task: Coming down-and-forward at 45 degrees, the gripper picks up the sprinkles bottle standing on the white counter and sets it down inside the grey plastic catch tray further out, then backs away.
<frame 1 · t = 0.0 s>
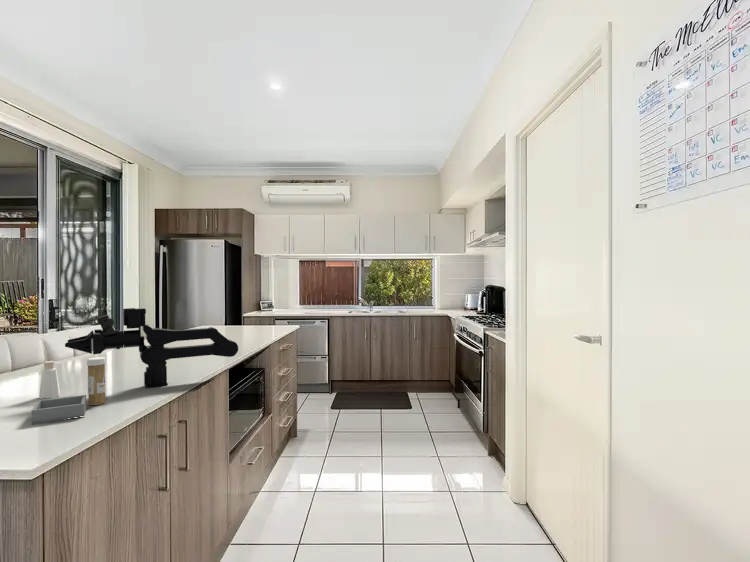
hand: (66, 343, 139), 17 cm above the countertop, tool horizontal, fingers open, 9 cm apart
pepper shaker: (49, 397, 139), on the countertop
catch tray: (60, 415, 118), on the countertop
sprinkles bottle: (97, 404, 129), on the countertop
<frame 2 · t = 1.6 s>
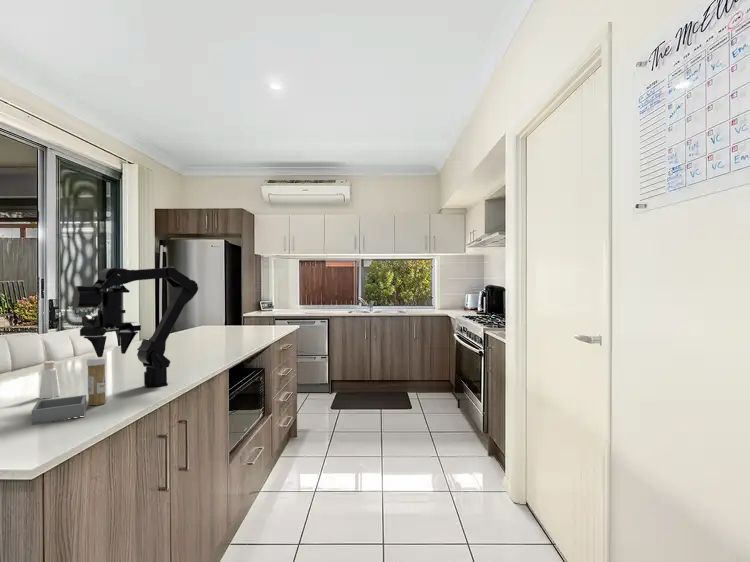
hand: (112, 355, 141), 12 cm above the countertop, tool pointing down, fingers open, 9 cm apart
nothing on the countertop moved.
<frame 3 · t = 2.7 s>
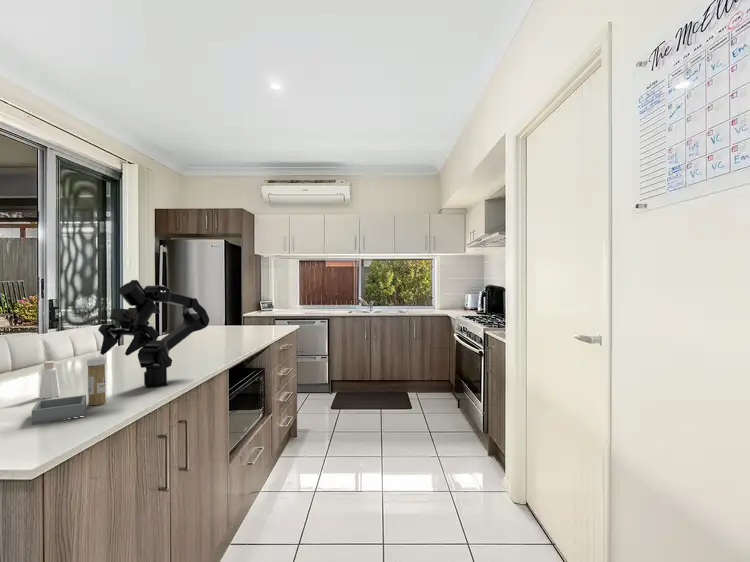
hand: (113, 354, 135), 13 cm above the countertop, tool tilted 45°, fingers open, 9 cm apart
nothing on the countertop moved.
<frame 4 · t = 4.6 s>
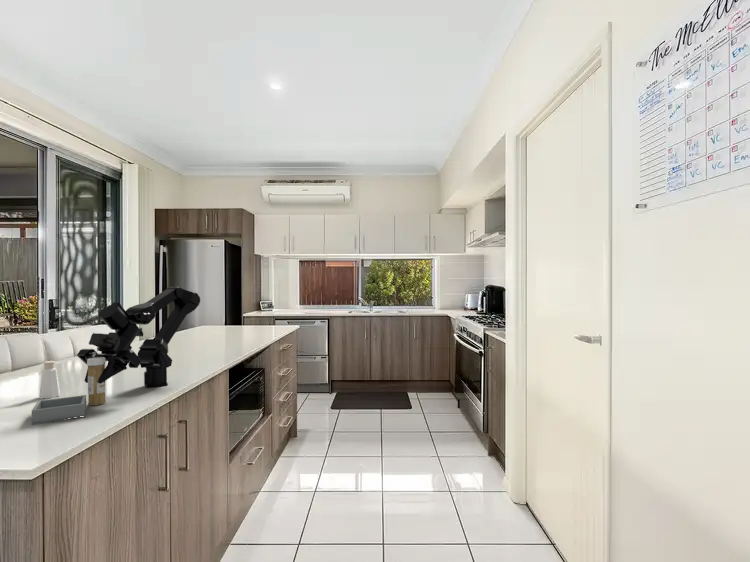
hand: (92, 382, 128), 7 cm above the countertop, tool tilted 45°, fingers closed on sprinkles bottle, 4 cm apart
sprinkles bottle: (96, 404, 129), on the countertop, touching gripper
everything else where it was.
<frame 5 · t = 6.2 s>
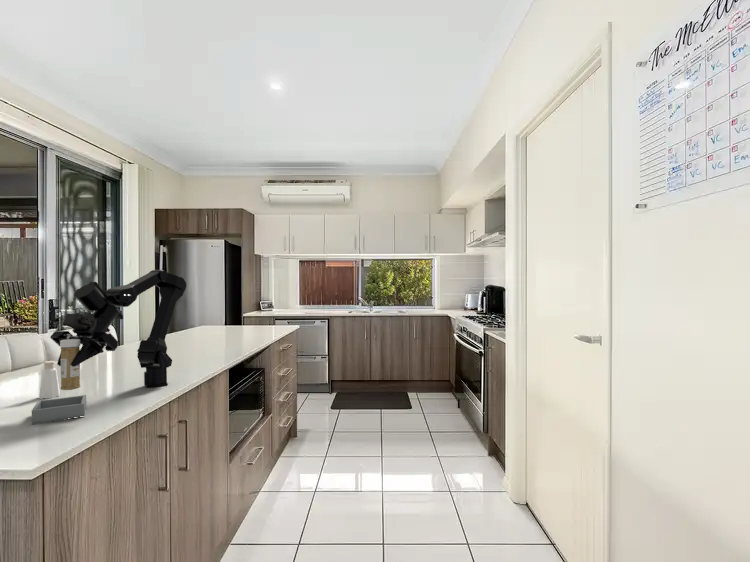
hand: (65, 365, 120), 13 cm above the countertop, tool tilted 45°, fingers closed on sprinkles bottle, 4 cm apart
sprinkles bottle: (70, 389, 121), point 6 cm above the countertop, touching gripper
everything else where it was.
when the fingers open (8 cm above the countertop, at t = 7.8 s): sprinkles bottle stays where it is, resting on catch tray.
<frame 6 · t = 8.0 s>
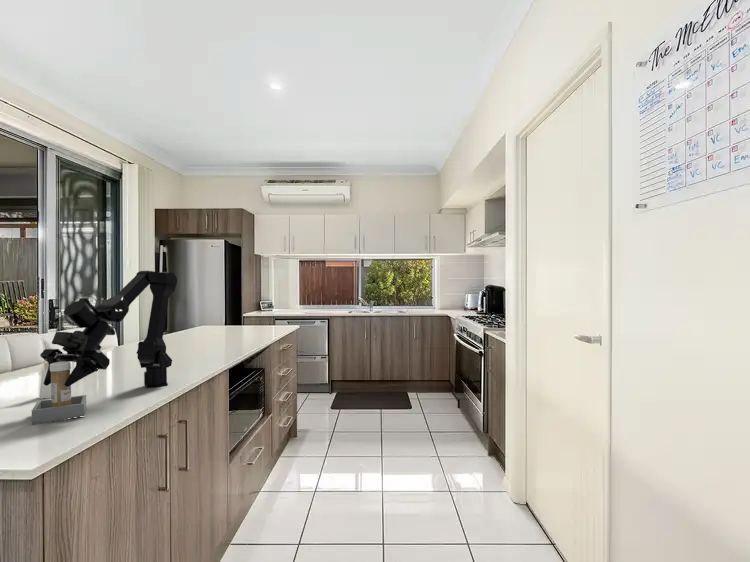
hand: (55, 385, 117), 8 cm above the countertop, tool tilted 45°, fingers open, 7 cm apart
sprinkles bottle: (61, 413, 118), resting on catch tray
everything else where it was.
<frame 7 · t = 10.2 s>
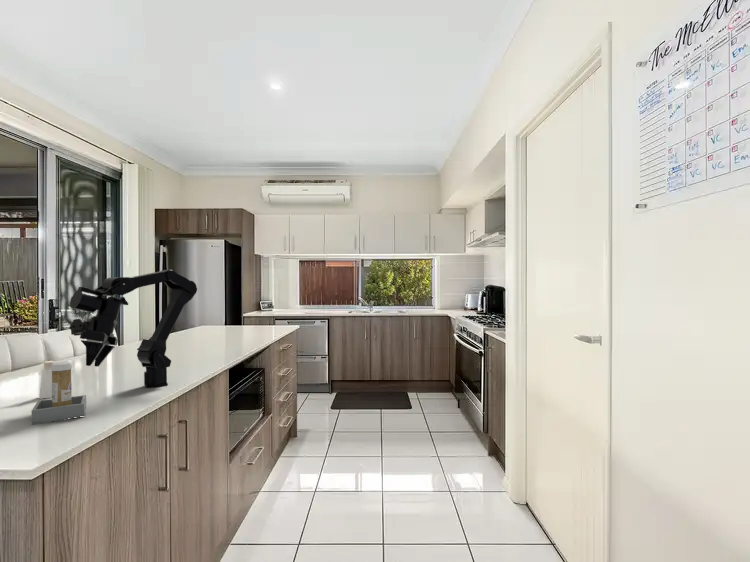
hand: (92, 366, 134), 10 cm above the countertop, tool tilted 15°, fingers open, 9 cm apart
nothing on the countertop moved.
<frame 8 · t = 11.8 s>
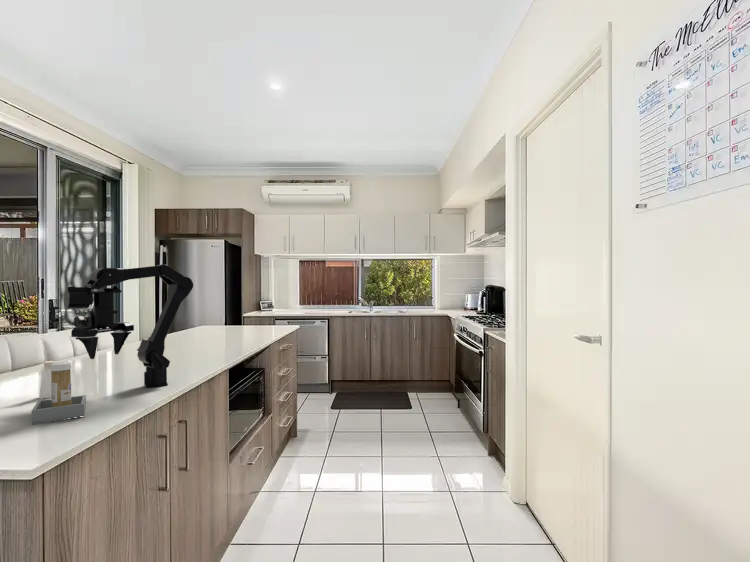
hand: (104, 356, 140), 12 cm above the countertop, tool pointing down, fingers open, 9 cm apart
nothing on the countertop moved.
at the end: sprinkles bottle inside the target area on the catch tray (0.3 cm from its centre), point 0.4 cm above the catch tray's base; sprinkles bottle tilted 0°; the gripper is holding nothing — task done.
